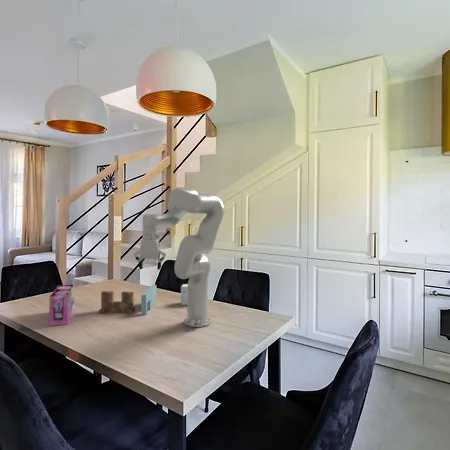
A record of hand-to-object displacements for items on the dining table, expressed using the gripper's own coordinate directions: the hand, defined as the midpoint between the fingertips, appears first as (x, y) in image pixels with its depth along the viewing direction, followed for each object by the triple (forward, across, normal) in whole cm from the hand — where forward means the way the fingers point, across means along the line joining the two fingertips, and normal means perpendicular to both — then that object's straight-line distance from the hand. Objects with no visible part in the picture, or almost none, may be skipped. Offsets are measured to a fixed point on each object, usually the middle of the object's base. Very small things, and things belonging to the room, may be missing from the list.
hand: (149, 269), depth 174 cm
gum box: (+21, +37, +20) cm, 47 cm away
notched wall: (+21, +15, +8) cm, 27 cm away
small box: (+21, -20, -8) cm, 30 cm away
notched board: (+21, 0, +2) cm, 21 cm away
